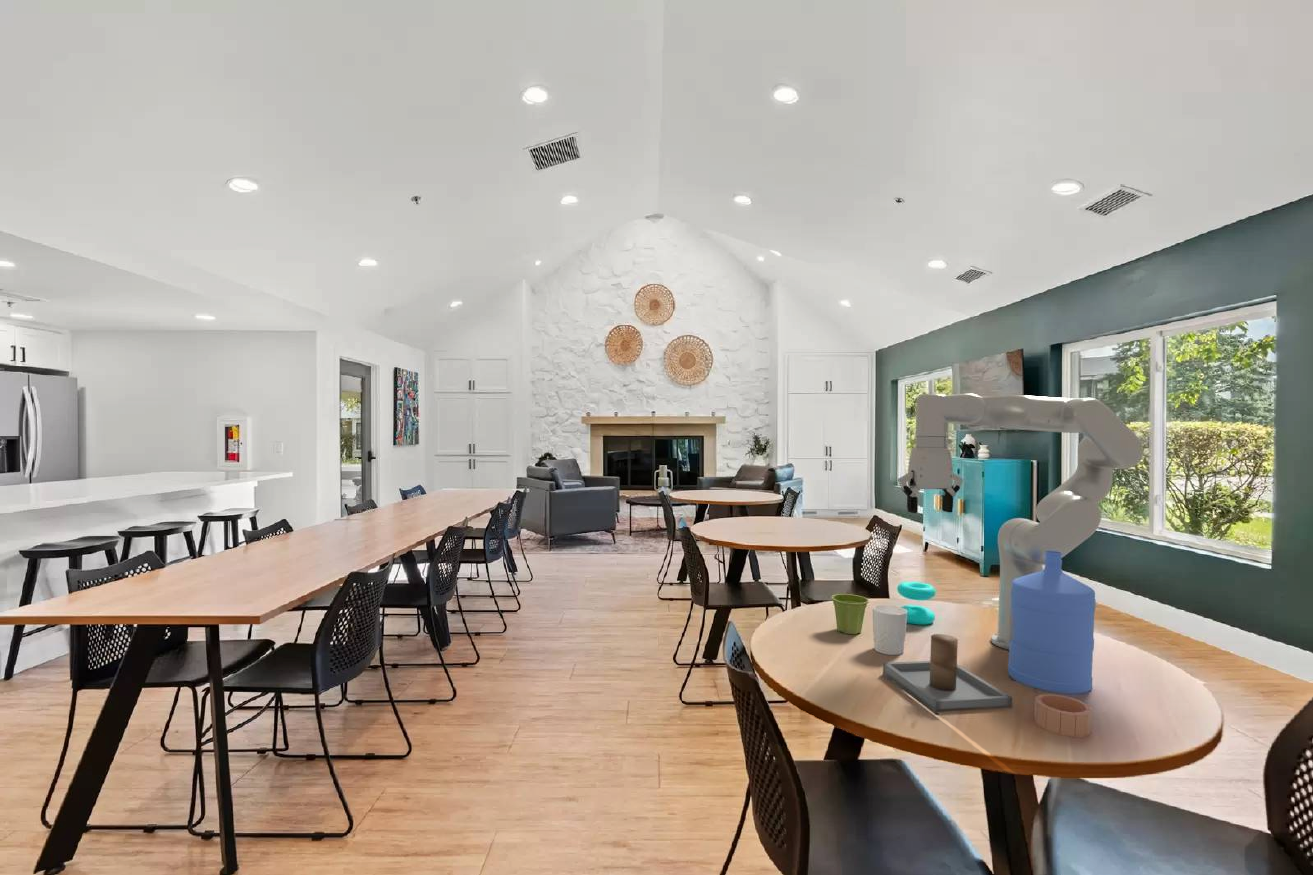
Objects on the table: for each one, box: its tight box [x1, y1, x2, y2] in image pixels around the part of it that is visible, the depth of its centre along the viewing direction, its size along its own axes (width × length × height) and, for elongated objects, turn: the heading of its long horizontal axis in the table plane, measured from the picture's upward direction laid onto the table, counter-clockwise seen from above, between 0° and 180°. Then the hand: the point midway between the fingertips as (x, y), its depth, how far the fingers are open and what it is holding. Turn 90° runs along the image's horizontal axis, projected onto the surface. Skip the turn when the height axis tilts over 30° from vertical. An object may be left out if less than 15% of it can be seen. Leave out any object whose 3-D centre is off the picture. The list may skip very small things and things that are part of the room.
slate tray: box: [882, 660, 1013, 715], centre depth 137 cm, size 16×20×2 cm
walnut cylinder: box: [929, 633, 959, 691], centre depth 137 cm, size 5×5×10 cm
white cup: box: [872, 604, 908, 656], centre depth 161 cm, size 8×8×10 cm
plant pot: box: [830, 593, 870, 635], centre depth 175 cm, size 9×9×9 cm
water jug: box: [1007, 551, 1097, 695], centre depth 143 cm, size 16×16×28 cm
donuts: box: [896, 581, 937, 626], centre depth 186 cm, size 10×10×10 cm
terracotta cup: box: [1033, 693, 1093, 738], centre depth 121 cm, size 9×9×4 cm
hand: (929, 512), depth 167 cm, fingers open, 9 cm apart
